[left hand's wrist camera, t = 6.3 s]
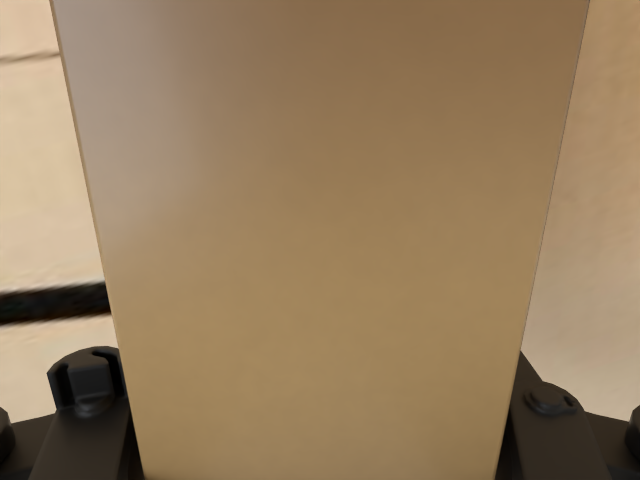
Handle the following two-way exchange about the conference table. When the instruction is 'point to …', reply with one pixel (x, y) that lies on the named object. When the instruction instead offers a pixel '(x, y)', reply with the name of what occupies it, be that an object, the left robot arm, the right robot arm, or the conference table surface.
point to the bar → (319, 222)
